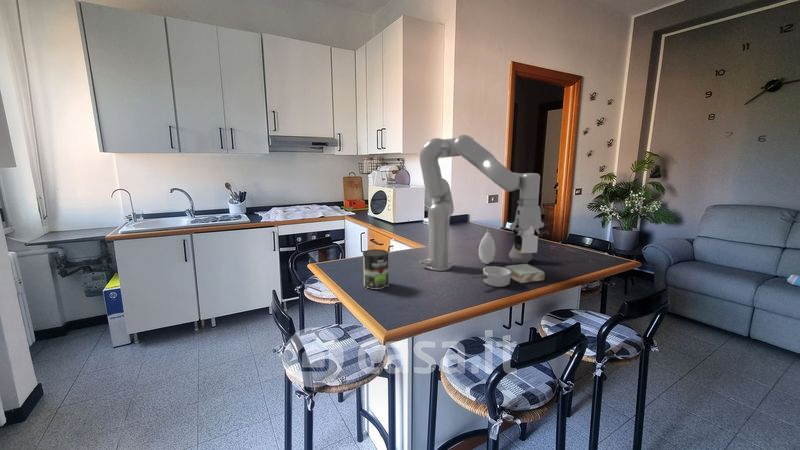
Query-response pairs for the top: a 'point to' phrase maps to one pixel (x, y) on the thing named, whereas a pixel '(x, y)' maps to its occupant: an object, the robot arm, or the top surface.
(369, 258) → the coffee can
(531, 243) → the medicine bottle
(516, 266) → the plinth
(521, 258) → the coffee pot
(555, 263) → the top surface
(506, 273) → the saucepan
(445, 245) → the robot arm
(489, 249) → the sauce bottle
